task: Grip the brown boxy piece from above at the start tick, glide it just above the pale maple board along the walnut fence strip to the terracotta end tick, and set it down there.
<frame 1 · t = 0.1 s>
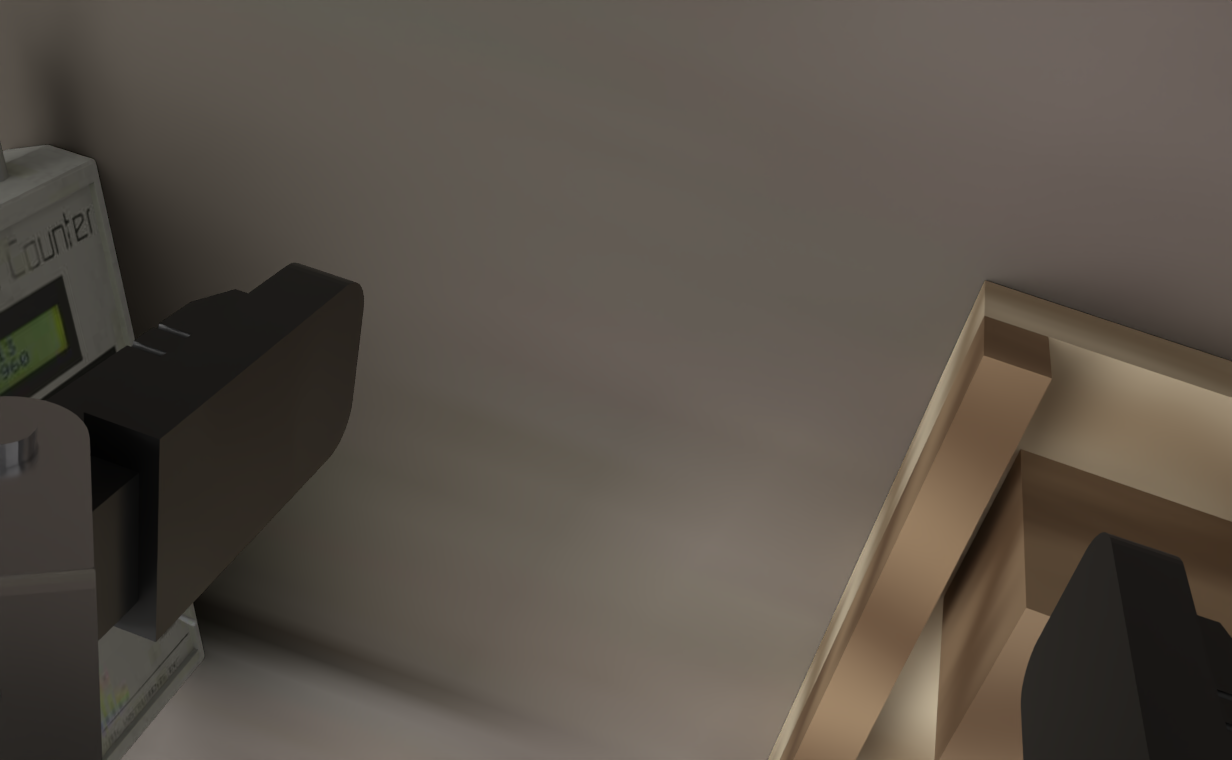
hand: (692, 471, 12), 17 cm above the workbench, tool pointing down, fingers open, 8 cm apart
brown boxy piece: (1117, 575, 29), point 2 cm above the workbench, touching maple board
geiger counter: (92, 361, 38), on the workbench
maple board: (1030, 755, 35), on the workbench
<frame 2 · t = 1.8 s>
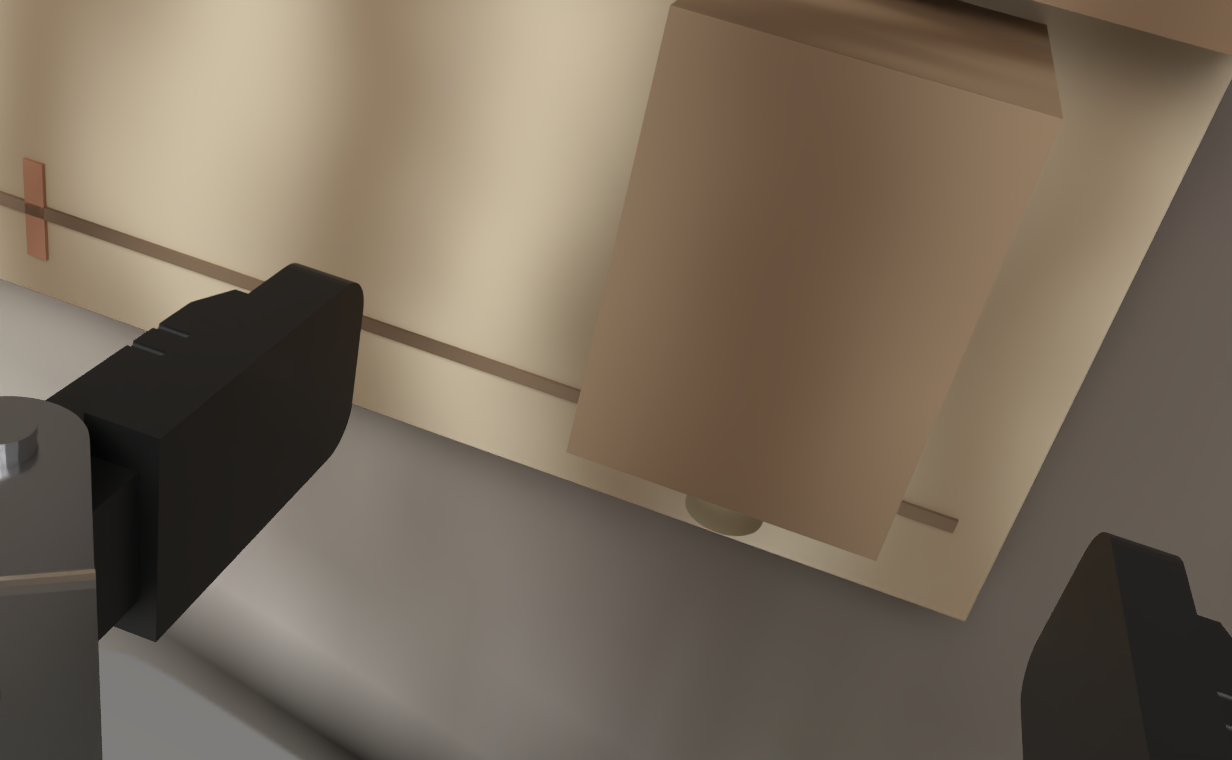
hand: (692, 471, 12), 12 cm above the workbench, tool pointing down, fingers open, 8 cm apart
brown boxy piece: (834, 177, 21), point 2 cm above the workbench, touching maple board
maple board: (440, 92, 25), on the workbench
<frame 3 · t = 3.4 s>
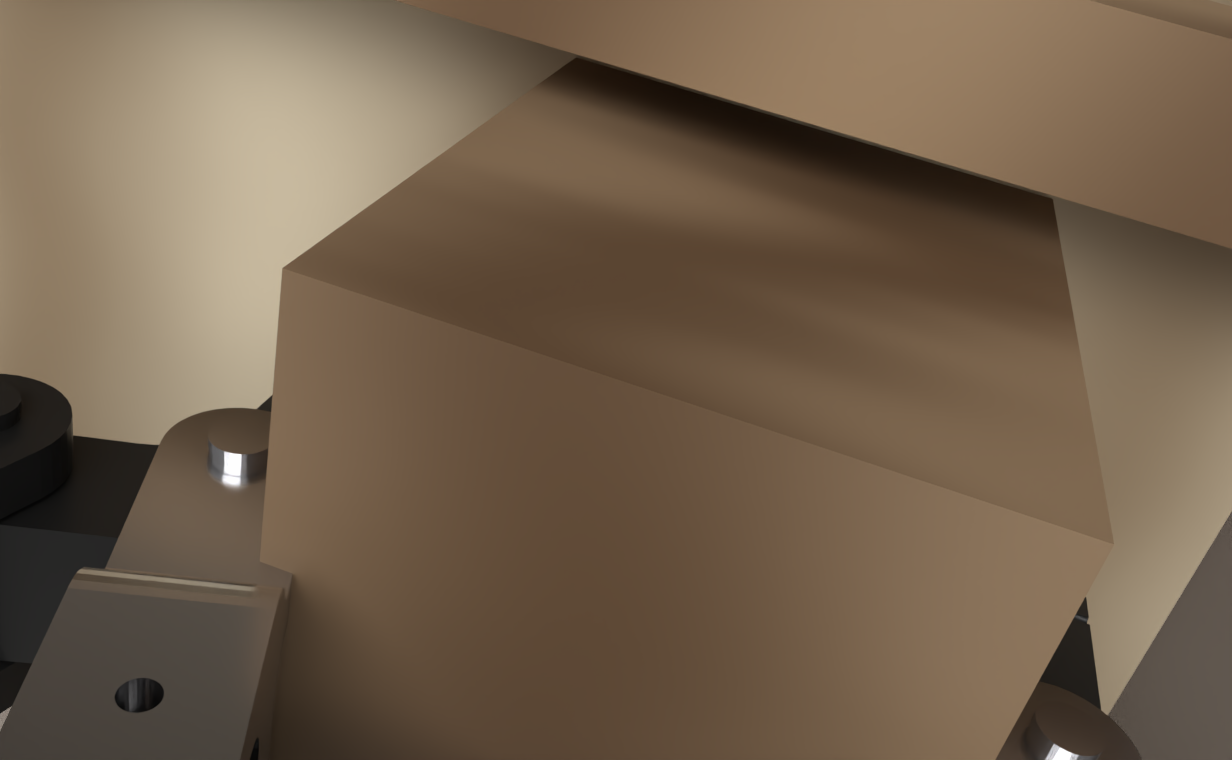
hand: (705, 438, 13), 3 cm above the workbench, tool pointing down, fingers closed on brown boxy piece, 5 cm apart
brown boxy piece: (719, 412, 14), point 2 cm above the workbench, touching gripper, maple board
maple board: (164, 242, 17), on the workbench
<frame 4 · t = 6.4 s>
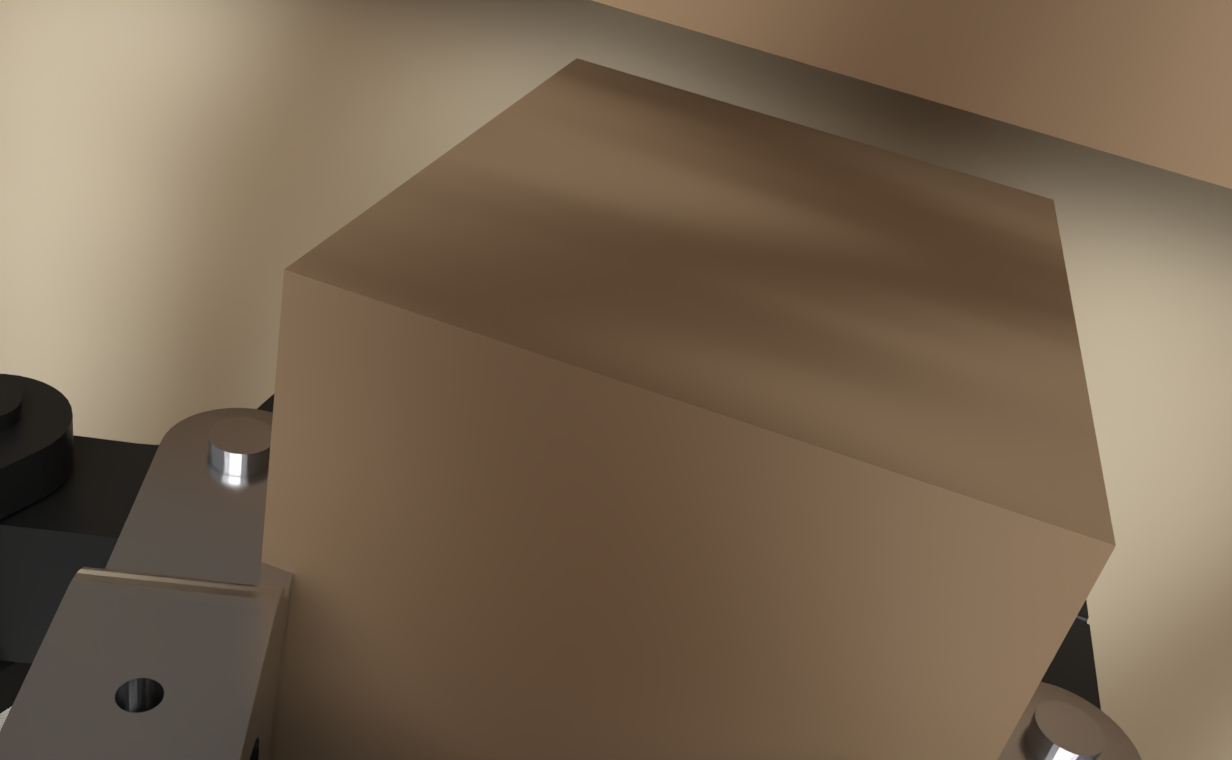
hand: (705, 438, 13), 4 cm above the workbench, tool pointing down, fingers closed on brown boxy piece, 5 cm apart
brown boxy piece: (720, 412, 14), point 3 cm above the workbench, touching gripper
maple board: (819, 400, 17), on the workbench
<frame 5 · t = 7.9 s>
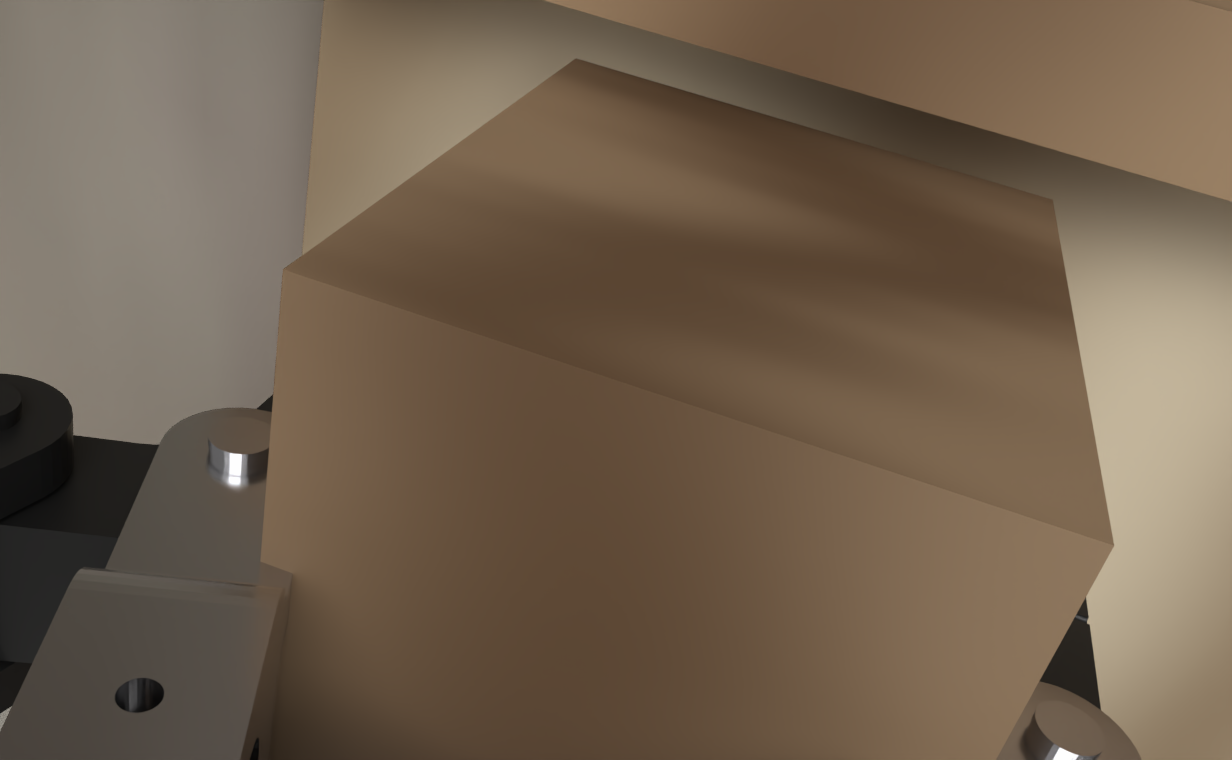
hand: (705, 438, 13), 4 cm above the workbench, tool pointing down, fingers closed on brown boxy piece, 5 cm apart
brown boxy piece: (719, 412, 14), point 3 cm above the workbench, touching gripper
when the fingers open (3 cm above the workbench, at t = 9.4 s): brown boxy piece stays where it is, resting on maple board.
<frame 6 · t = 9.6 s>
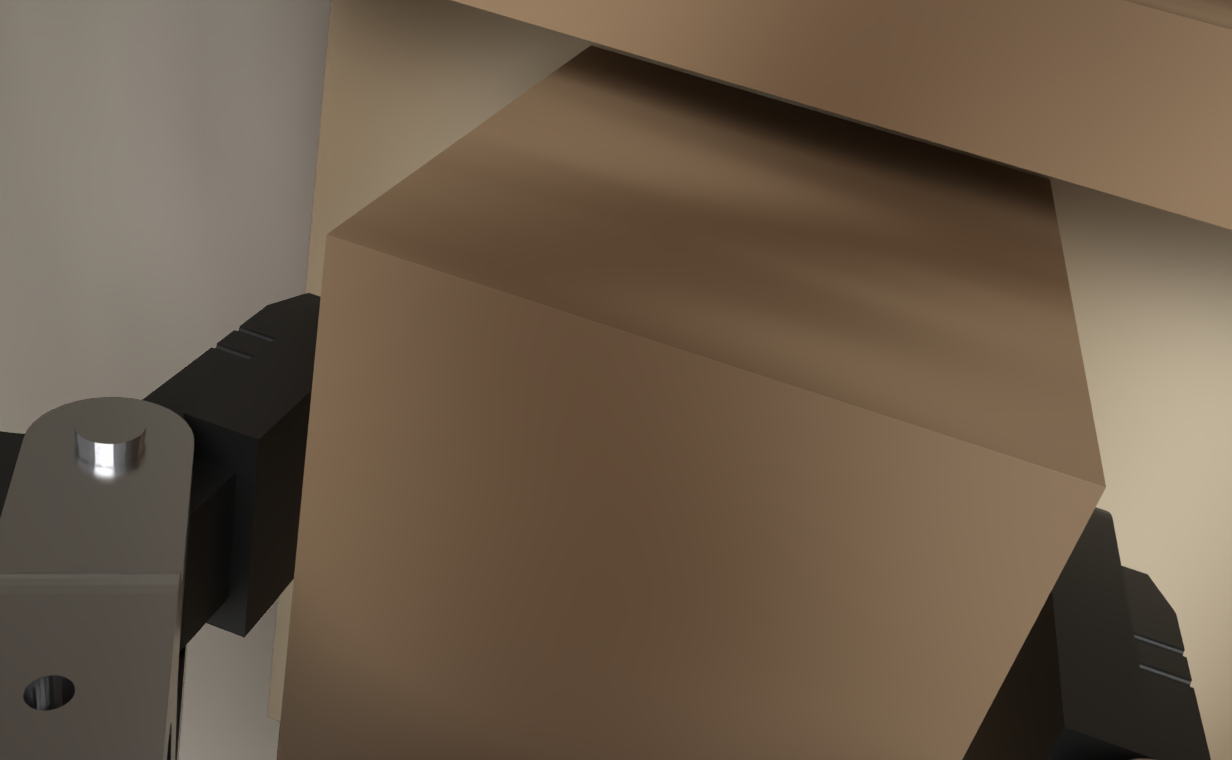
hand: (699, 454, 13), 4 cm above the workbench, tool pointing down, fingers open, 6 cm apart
brown boxy piece: (728, 389, 14), point 2 cm above the workbench, touching maple board
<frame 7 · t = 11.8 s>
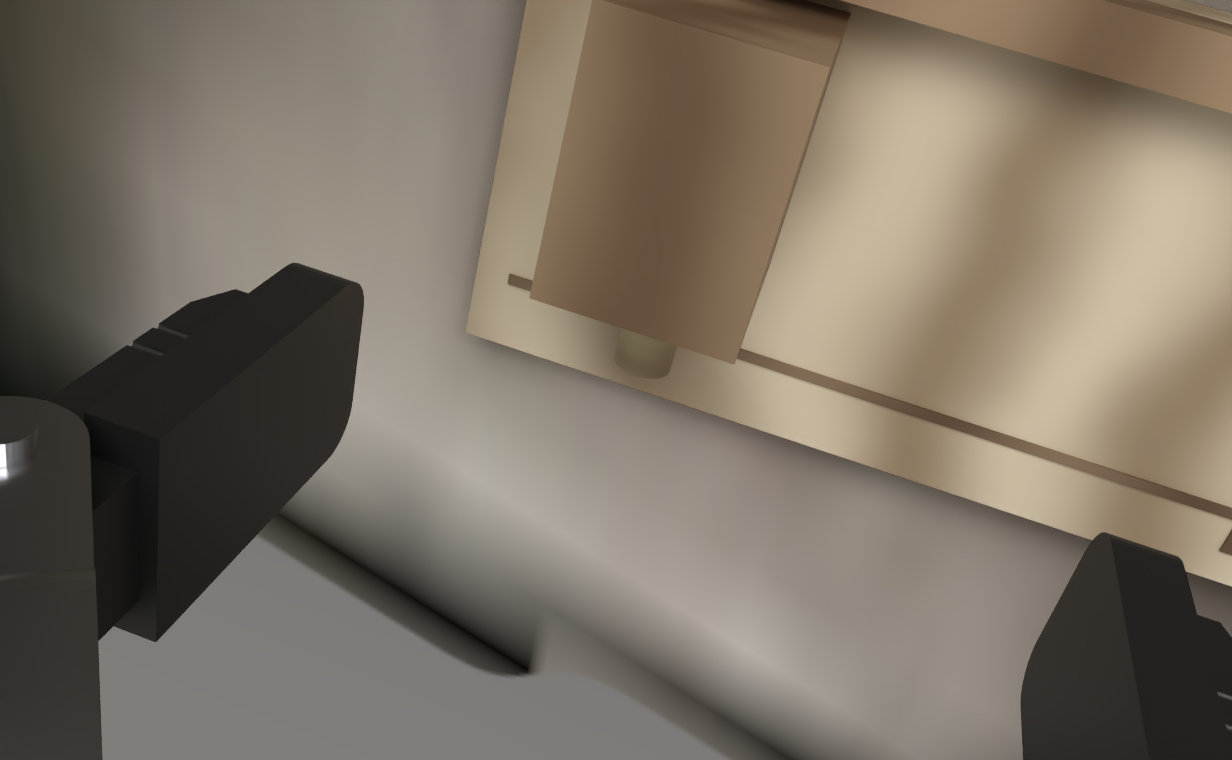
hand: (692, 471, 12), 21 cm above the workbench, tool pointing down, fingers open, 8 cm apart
brown boxy piece: (714, 120, 30), point 2 cm above the workbench, touching maple board
maple board: (1008, 240, 32), on the workbench
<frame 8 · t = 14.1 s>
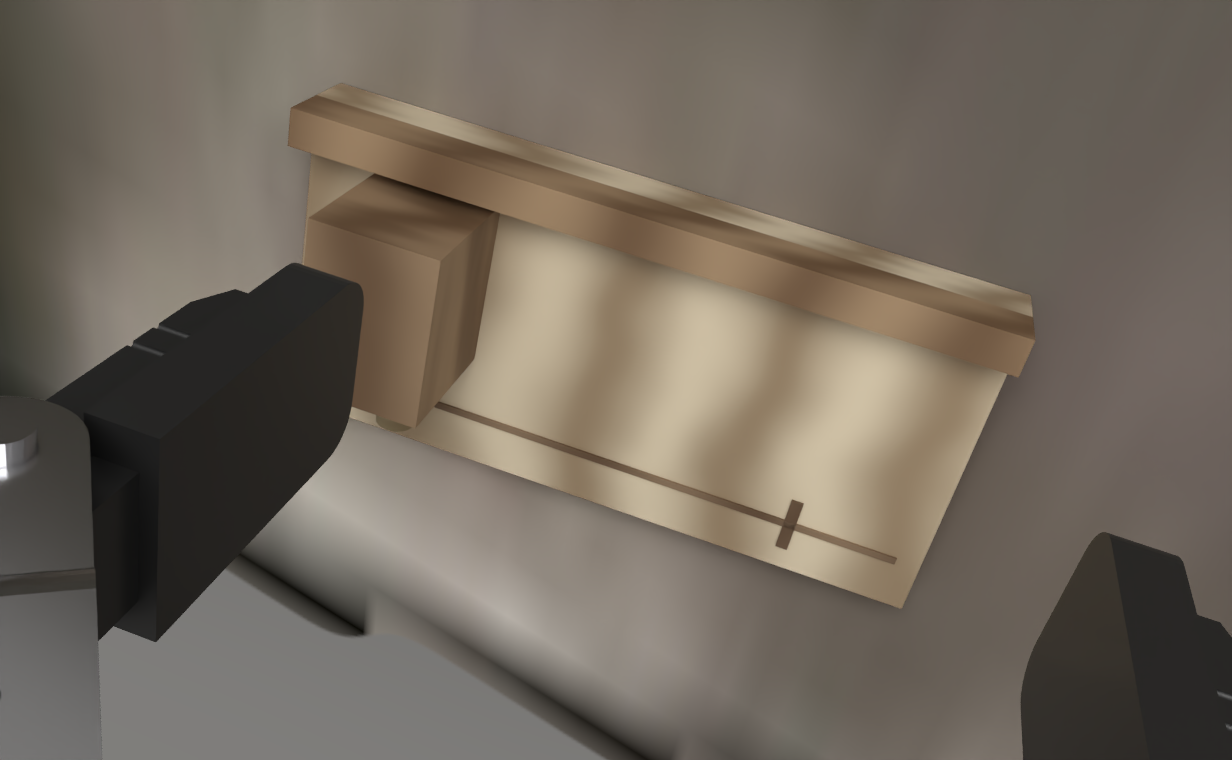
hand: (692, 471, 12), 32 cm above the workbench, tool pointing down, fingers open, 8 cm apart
brown boxy piece: (429, 266, 47), point 2 cm above the workbench, touching maple board
maple board: (632, 340, 49), on the workbench
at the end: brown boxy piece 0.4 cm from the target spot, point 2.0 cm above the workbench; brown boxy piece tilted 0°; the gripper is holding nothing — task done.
